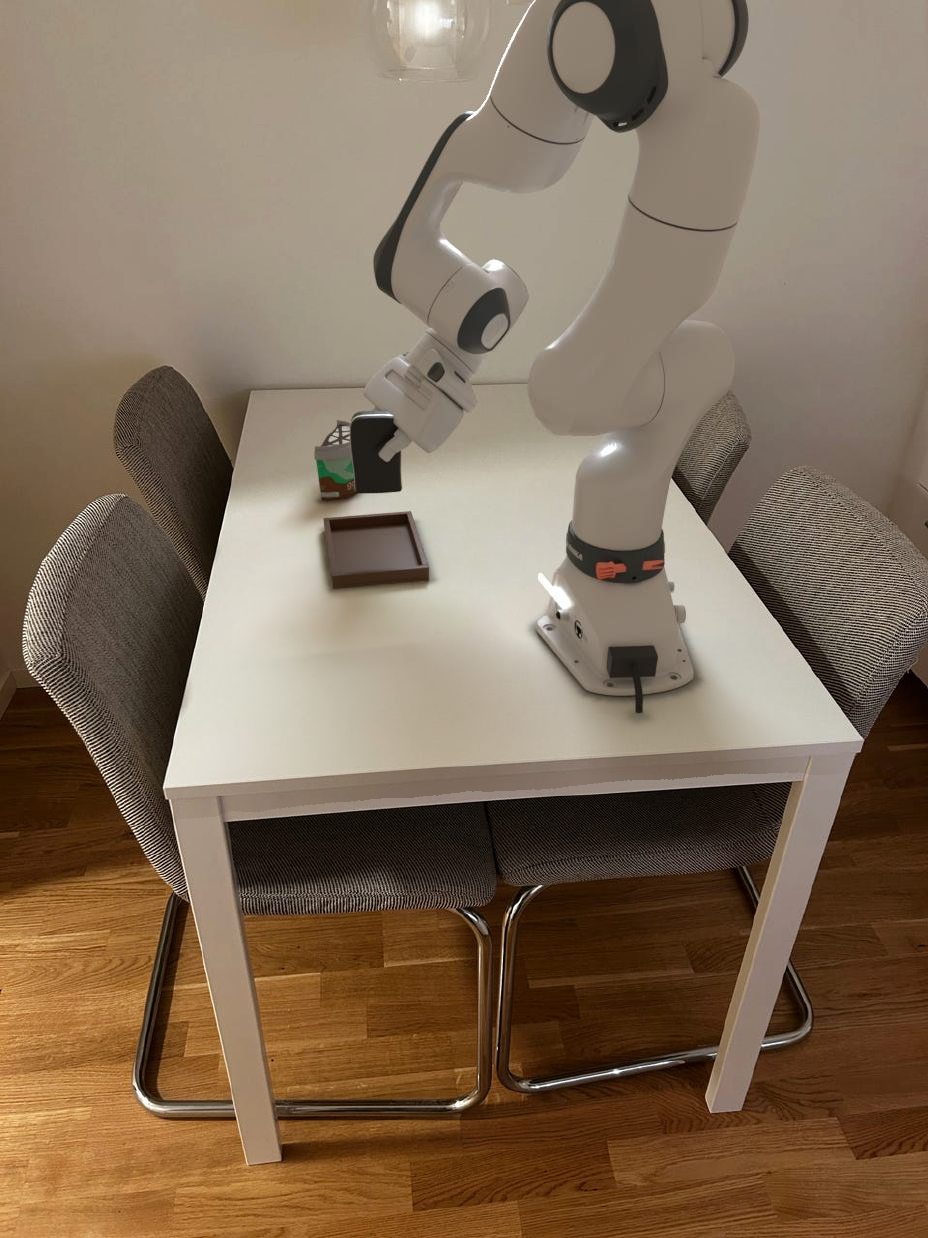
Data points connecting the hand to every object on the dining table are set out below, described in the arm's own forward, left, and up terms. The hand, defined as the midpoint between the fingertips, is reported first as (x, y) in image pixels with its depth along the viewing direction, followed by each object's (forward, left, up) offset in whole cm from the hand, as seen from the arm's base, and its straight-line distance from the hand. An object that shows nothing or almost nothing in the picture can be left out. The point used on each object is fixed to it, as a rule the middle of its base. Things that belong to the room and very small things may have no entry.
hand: (372, 449), depth 131 cm
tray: (0, +1, -16) cm, 16 cm away
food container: (+22, +3, -17) cm, 27 cm away
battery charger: (0, -1, -6) cm, 6 cm away
